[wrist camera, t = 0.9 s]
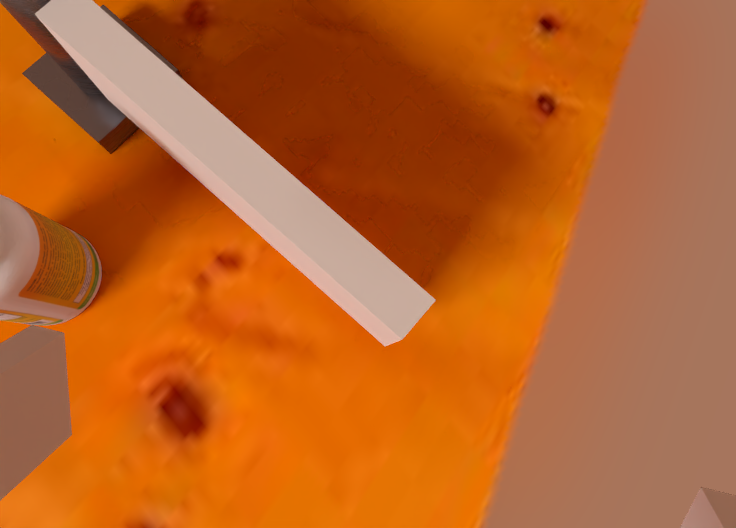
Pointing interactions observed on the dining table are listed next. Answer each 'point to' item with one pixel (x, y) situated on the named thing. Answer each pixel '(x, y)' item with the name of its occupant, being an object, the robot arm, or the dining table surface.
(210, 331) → the dining table surface
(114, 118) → the post
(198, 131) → the swing arm
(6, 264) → the supplement bottle
